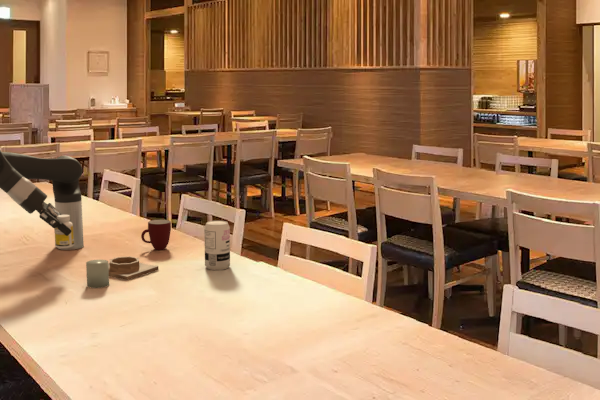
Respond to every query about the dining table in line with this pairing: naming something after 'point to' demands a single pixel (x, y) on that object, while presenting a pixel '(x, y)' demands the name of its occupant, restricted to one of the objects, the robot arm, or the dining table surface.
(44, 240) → the dining table surface
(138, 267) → the caddy
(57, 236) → the supplement bottle
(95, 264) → the sage green domed cylinder
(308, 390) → the dining table surface
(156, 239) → the mug
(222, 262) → the supplement can
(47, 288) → the dining table surface
